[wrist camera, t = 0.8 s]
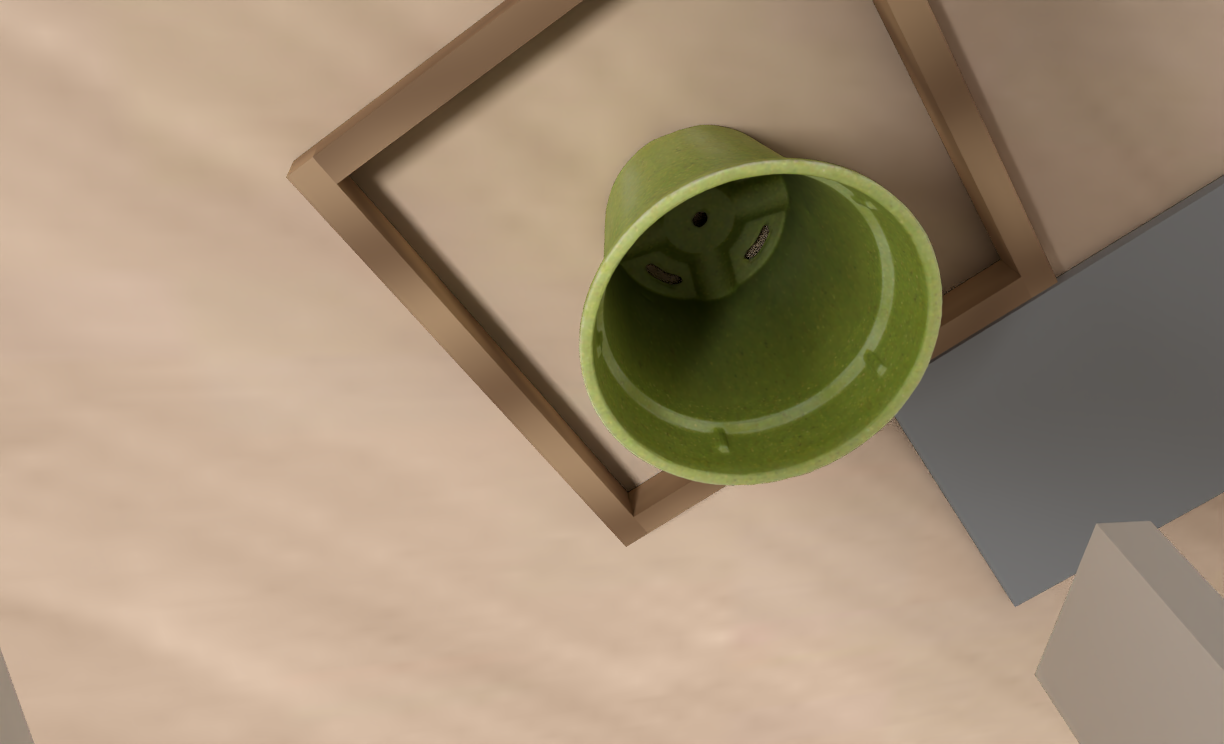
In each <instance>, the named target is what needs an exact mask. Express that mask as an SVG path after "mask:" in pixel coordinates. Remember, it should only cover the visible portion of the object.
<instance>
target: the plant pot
mask: <svg viewBox="0 0 1224 744" xmlns="http://www.w3.org/2000/svg"><path fill="white" fill-rule="evenodd" d="M698 212H705V213H706V215H707V221H706V223H705V224H704V225H703V226H701V227H697V226H695V225H694V224H693V222H692V219H693V218H694V216H695V214H696V213H698ZM764 225H767V226H768V229H769V234H768V236H767V238H766V240H765V242H764V244H763V246H762V248H761V249H760V250H759V252H758V253H757V254H756V255H755V256H754V257H752V258H750V259H745V258H744V256H745V254H746V252H747V251H748V249H749V248H750V247H751V246H752V245H753V244H754V243H755V242H756V240H757V237H758V236H759V235H760V232H761V229H762V228H763V226H764ZM648 264H653V265H655V266H657V267H659V268H660V269H661V270H663V271H665V272H667V273H670V274H673V275H678V276H680V277H681V278H682V282H681V283H678V284H668V283H664V282H662V281H661V280H659V279H656V278H654V277H653V276H652V275H650V274H649V273H648V271H647V269H646V266H647V265H648ZM941 317H942V284H941V279H940V272H939V267H938V263H937V260H936V256H935V252H934V250H933V247H932V245H931V242H930V240H929V238H928V236H927V234H926V232H925V231H924V229H923V228H922V226H921V225H920V223H919V222H918V220H917V219H916V218H915V216H914V215H913V214H912V213H911V211H910V210H909V209H908V208H907V207H906V206H905V205H904V204H903V203H902V202H901V201H899V200H898V199H897V198H896V197H895V196H894V195H893V194H891V193H890V192H889V191H888V190H886V189H885V188H884V187H882V186H881V185H879V184H878V183H876V182H874V181H873V180H871V179H870V178H868V177H866V176H864V175H862V174H860V173H858V172H856V171H853V170H851V169H848V168H845V167H842V166H839V165H835V164H832V163H828V162H823V161H818V160H811V159H802V158H785V157H783V156H781V155H780V154H778V153H776V152H774V151H773V150H771V149H769V148H768V147H766V146H764V145H763V144H761V143H759V142H758V141H756V140H754V139H753V138H751V137H750V136H748V135H746V134H744V133H742V132H739V131H737V130H733V129H730V128H726V127H721V126H715V125H698V126H694V127H690V128H686V129H682V130H678V131H676V132H673V133H671V134H668V135H665V136H662V137H660V138H658V139H655V140H653V141H651V142H649V143H648V144H647V145H645V146H644V147H643V148H641V149H640V150H639V151H638V152H637V153H636V154H635V155H634V156H633V157H632V158H631V159H630V160H629V161H628V162H627V163H626V165H625V166H624V167H623V169H622V170H621V172H620V173H619V175H618V177H617V179H616V181H615V183H614V185H613V187H612V190H611V193H610V196H609V199H608V204H607V208H606V217H605V243H604V260H603V261H602V263H601V265H600V267H599V269H598V271H597V273H596V275H595V277H594V279H593V281H592V283H591V286H590V289H589V291H588V294H587V297H586V300H585V304H584V308H583V313H582V318H581V323H580V336H579V354H580V363H581V370H582V375H583V379H584V383H585V387H586V390H587V393H588V395H589V398H590V401H591V403H592V406H593V407H594V409H595V411H596V413H597V415H598V416H599V418H600V419H601V421H602V422H603V424H604V425H605V427H606V428H607V429H608V431H609V432H610V433H611V434H612V435H613V436H614V437H615V438H616V439H617V440H618V441H619V442H620V443H621V444H622V445H623V446H624V447H625V448H626V449H627V450H629V451H630V452H631V453H632V454H634V455H635V456H637V457H638V458H640V459H641V460H643V461H645V462H646V463H648V464H650V465H652V466H654V467H655V468H658V469H661V470H663V471H665V472H667V473H670V474H673V475H676V476H678V477H682V478H685V479H689V480H692V481H696V482H702V483H708V484H715V485H732V486H734V485H755V484H763V483H770V482H775V481H780V480H784V479H787V478H791V477H796V476H800V475H803V474H807V473H810V472H812V471H814V470H816V469H819V468H821V467H823V466H826V465H828V464H830V463H832V462H834V461H836V460H838V459H840V458H842V457H843V456H845V455H846V454H848V453H850V452H851V451H853V450H854V449H856V448H857V447H859V446H860V445H862V444H863V443H864V442H866V441H867V440H868V439H869V438H871V437H872V436H873V435H874V434H876V433H877V432H878V431H879V430H881V429H882V428H883V427H884V426H885V425H886V424H887V423H888V422H889V421H890V420H891V419H892V418H893V417H894V416H895V415H896V414H897V413H898V411H899V410H900V409H901V408H902V406H903V405H904V404H905V402H906V401H907V400H908V399H909V397H910V396H911V394H912V393H913V391H914V390H915V388H916V387H917V386H918V384H919V382H920V381H921V379H922V377H923V375H924V373H925V371H926V369H927V367H928V364H929V362H930V359H931V356H932V354H933V351H934V347H935V344H936V341H937V337H938V333H939V328H940V325H941Z"/></svg>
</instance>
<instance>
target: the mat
mask: <svg viewBox="0 0 1224 744" xmlns="http://www.w3.org/2000/svg"><path fill="white" fill-rule="evenodd" d="M1056 279H1057V281H1058V282H1057V283H1056V284H1054V285H1052V286H1051V287H1049V288H1047V289H1046V290H1044V291H1043V292H1041V293H1039V294H1038V295H1036V296H1034V297H1033V298H1031V299H1029V300H1028V301H1026V302H1025V303H1023V304H1021V305H1020V306H1018V307H1016V308H1015V309H1013V310H1012V311H1010V312H1008V313H1007V314H1005V315H1003V316H1002V317H1000V318H998V319H997V320H995V321H994V322H992V323H990V324H989V325H987V326H985V327H984V328H982V329H981V330H979V331H977V332H976V333H974V334H972V335H971V336H969V337H967V338H966V339H964V340H963V341H961V342H959V343H958V344H956V345H954V346H953V347H951V348H950V349H948V350H946V351H945V352H943V353H941V354H940V355H938V356H937V357H935V358H933V359H932V360H930V362H929V364H928V367H927V369H926V371H925V373H924V375H923V377H922V379H921V381H920V382H919V384H918V386H917V387H916V388H915V390H914V391H913V393H912V394H911V396H910V397H909V399H908V400H907V401H906V402H905V404H904V405H903V406H902V408H901V409H900V410H899V411H898V413H897V414H896V415H895V418H896V419H897V421H898V423H899V424H900V426H901V427H902V429H903V431H904V432H905V434H906V435H907V437H908V438H909V440H910V442H911V443H912V445H913V446H914V448H915V450H916V451H917V453H918V454H919V456H920V457H921V459H922V461H923V462H924V464H925V465H926V467H927V469H928V470H929V472H930V473H931V475H932V476H933V478H934V480H935V481H936V483H937V484H938V486H939V488H940V489H941V491H942V492H943V494H944V495H945V497H946V499H947V500H948V502H949V503H950V505H951V507H952V508H953V510H954V511H955V513H956V514H957V516H958V518H959V519H960V521H961V522H962V524H963V526H964V527H965V529H966V530H967V532H968V533H969V535H970V537H971V538H972V540H973V541H974V543H975V545H976V546H977V548H978V549H979V551H980V552H981V554H982V556H983V557H984V559H985V560H986V562H987V564H988V565H989V567H990V568H991V570H992V571H993V573H994V575H995V576H996V578H997V579H998V581H999V583H1000V584H1001V586H1002V587H1003V589H1004V590H1005V592H1006V594H1007V595H1008V597H1009V598H1010V600H1011V601H1012V603H1013V604H1014V606H1015V607H1016V606H1018V605H1020V604H1022V603H1023V602H1025V601H1027V600H1029V599H1031V598H1032V597H1034V596H1036V595H1038V594H1040V593H1042V592H1043V591H1045V590H1047V589H1049V588H1051V587H1052V586H1054V585H1056V584H1058V583H1060V582H1062V581H1063V580H1065V579H1067V578H1069V577H1071V576H1072V575H1074V574H1076V572H1077V569H1078V567H1079V565H1080V562H1081V560H1082V557H1083V555H1084V552H1085V550H1086V547H1087V545H1088V543H1089V540H1090V538H1091V535H1092V533H1093V530H1094V528H1095V525H1096V523H1116V522H1138V521H1151V522H1152V523H1153V524H1154V525H1155V526H1156V527H1157V528H1160V527H1161V526H1163V525H1165V524H1167V523H1169V522H1171V521H1172V520H1174V519H1176V518H1178V517H1180V516H1181V515H1183V514H1185V513H1187V512H1189V511H1191V510H1192V509H1194V508H1196V507H1198V506H1200V505H1201V504H1203V503H1205V502H1207V501H1209V500H1210V499H1212V498H1214V497H1216V496H1218V495H1220V494H1221V493H1223V492H1224V175H1223V176H1222V177H1220V178H1218V179H1217V180H1215V181H1214V182H1212V183H1210V184H1209V185H1207V186H1205V187H1204V188H1202V189H1201V190H1199V191H1197V192H1196V193H1194V194H1192V195H1191V196H1189V197H1188V198H1186V199H1184V200H1183V201H1181V202H1179V203H1178V204H1176V205H1175V206H1173V207H1171V208H1170V209H1168V210H1166V211H1165V212H1163V213H1161V214H1160V215H1158V216H1157V217H1155V218H1153V219H1152V220H1150V221H1148V222H1147V223H1145V224H1144V225H1142V226H1140V227H1139V228H1137V229H1135V230H1134V231H1132V232H1131V233H1129V234H1127V235H1126V236H1124V237H1122V238H1121V239H1119V240H1118V241H1116V242H1114V243H1113V244H1111V245H1109V246H1108V247H1106V248H1105V249H1103V250H1101V251H1100V252H1098V253H1096V254H1095V255H1093V256H1091V257H1090V258H1088V259H1087V260H1085V261H1083V262H1082V263H1080V264H1078V265H1077V266H1075V267H1074V268H1072V269H1070V270H1069V271H1067V272H1065V273H1064V274H1062V275H1061V276H1059V277H1057V278H1056Z"/></svg>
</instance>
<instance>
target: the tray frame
mask: <svg viewBox="0 0 1224 744" xmlns="http://www.w3.org/2000/svg"><path fill="white" fill-rule="evenodd" d="M582 1H583V0H505V1H504V2H503V3H501V4H500V5H499V6H497V7H496V8H495V9H493V10H492V11H491V12H490V13H488V14H487V15H486V16H484V17H483V18H482V19H480V20H479V21H478V22H476V23H475V24H474V25H472V26H471V27H470V28H468V29H467V30H466V31H464V32H463V33H462V34H461V35H459V36H458V37H457V38H455V39H454V40H453V41H451V42H450V43H449V44H447V45H446V46H445V47H443V48H442V49H441V50H439V51H438V52H437V53H435V54H434V55H433V56H432V57H430V58H429V59H428V60H426V61H425V62H424V63H422V64H421V65H420V66H418V67H417V68H416V69H414V70H413V71H412V72H410V73H409V74H408V75H406V76H405V77H404V78H403V79H401V80H400V81H399V82H397V83H396V84H395V85H393V86H392V87H391V88H389V89H388V90H387V91H385V92H384V93H383V94H381V95H380V96H379V97H377V98H376V99H375V100H374V101H372V102H371V103H370V104H368V105H367V106H366V107H364V108H363V109H362V110H360V111H359V112H358V113H356V114H355V115H354V116H352V117H351V118H350V119H348V120H347V121H346V122H345V123H343V124H342V125H341V126H339V127H338V128H337V129H335V130H334V131H333V132H331V133H330V134H329V135H327V136H326V137H325V138H323V139H322V140H321V141H320V142H318V143H317V144H316V145H314V146H313V147H312V148H310V149H309V150H308V151H306V152H305V153H304V154H302V155H301V156H300V157H298V158H297V159H296V160H294V162H293V164H292V166H291V168H290V170H289V172H288V175H287V177H286V178H287V179H288V180H289V181H290V182H291V183H292V184H293V185H294V186H295V187H296V188H297V190H298V191H299V192H300V193H301V194H302V195H303V196H304V197H305V198H306V199H307V200H308V201H309V203H310V204H311V205H312V206H313V207H314V208H315V209H316V210H317V211H318V212H319V213H320V215H321V216H322V217H323V218H324V219H325V220H326V221H327V222H328V223H329V224H330V225H331V226H332V228H333V229H334V230H335V231H336V232H337V233H338V234H339V235H340V236H341V237H342V238H343V240H344V241H345V242H346V243H347V244H348V245H349V246H350V247H351V248H352V249H353V250H354V251H355V253H356V254H357V255H358V256H359V257H360V258H361V259H362V260H363V261H364V262H365V263H366V265H367V266H368V267H369V268H370V269H371V270H372V271H373V272H374V273H375V274H376V275H377V277H378V278H379V279H380V280H381V281H382V282H383V283H384V284H385V285H386V286H387V287H388V288H389V290H390V291H391V292H392V293H393V294H394V295H395V296H396V297H397V298H398V299H399V300H400V302H401V303H402V304H403V305H404V306H405V307H406V308H407V309H408V310H409V311H410V312H411V313H412V315H413V316H414V317H415V318H416V319H417V320H418V321H419V322H420V323H421V324H422V325H423V327H424V328H425V329H426V330H427V331H428V332H429V333H430V334H431V335H432V336H433V337H434V338H435V340H436V341H437V342H438V343H439V344H440V345H441V346H442V347H443V348H444V349H445V350H446V352H447V353H448V354H449V355H450V356H451V357H452V358H453V359H454V360H455V361H456V362H457V364H458V365H459V366H460V367H461V368H462V369H463V370H464V371H465V372H466V373H467V374H468V375H469V377H470V378H471V379H472V380H473V381H474V382H475V383H476V384H477V385H478V386H479V387H480V389H481V390H482V391H483V392H484V393H485V394H486V395H487V396H488V397H489V398H490V399H491V400H492V402H493V403H494V404H495V405H496V406H497V407H498V408H499V409H500V410H501V411H502V412H503V414H504V415H505V416H506V417H507V418H508V419H509V420H510V421H511V422H512V423H513V424H514V425H515V427H516V428H517V429H518V430H519V431H520V432H521V433H522V434H523V435H524V436H525V437H526V439H527V440H528V441H529V442H530V443H531V444H532V445H533V446H534V447H535V448H536V449H537V450H538V452H539V453H540V454H541V455H542V456H543V457H544V458H545V459H546V460H547V461H548V462H549V464H550V465H551V466H552V467H553V468H554V469H555V470H556V471H557V472H558V473H559V474H560V476H561V477H562V478H563V479H564V480H565V481H566V482H567V483H568V484H569V485H570V486H571V487H572V489H573V490H574V491H575V492H576V493H577V494H578V495H579V496H580V497H581V498H582V499H583V501H584V502H585V503H586V504H587V505H588V506H589V507H590V508H591V509H592V510H593V511H594V512H595V514H596V515H597V516H598V517H599V518H600V519H601V520H602V521H603V522H604V523H605V524H606V526H607V527H608V528H609V529H610V530H611V531H612V532H613V533H614V534H615V535H616V536H617V537H618V539H619V540H620V541H621V542H622V543H623V544H624V545H625V546H626V547H627V546H628V545H630V544H632V543H633V542H635V541H636V540H638V539H640V538H641V537H643V536H645V535H646V534H648V533H649V532H651V531H653V530H654V529H656V528H658V527H659V526H661V525H663V524H664V523H666V522H667V521H669V520H671V519H672V518H674V517H676V516H677V515H679V514H680V513H682V512H684V511H685V510H687V509H689V508H690V507H692V506H694V505H695V504H697V503H698V502H700V501H702V500H703V499H705V498H707V497H708V496H710V495H711V494H713V493H715V492H716V491H718V490H720V489H721V488H723V487H725V486H726V485H715V484H708V483H702V482H696V481H692V480H689V479H685V478H682V477H678V476H676V475H673V474H670V473H667V472H665V471H662V472H660V473H659V474H657V475H655V476H654V477H652V478H651V479H649V480H647V481H646V482H644V483H643V484H641V485H639V486H638V487H636V488H635V489H633V490H631V491H630V492H628V493H627V491H626V490H625V489H624V488H623V487H622V486H621V485H620V484H619V482H618V481H617V480H616V479H615V478H614V477H613V476H612V474H611V473H610V472H609V471H608V470H607V469H606V468H605V466H604V465H603V464H602V463H601V462H600V461H599V460H598V458H597V457H596V456H595V455H594V454H593V453H592V452H591V451H590V449H589V448H588V447H587V446H586V445H585V444H584V443H583V441H582V440H581V439H580V438H579V437H578V436H577V435H576V433H575V432H574V431H573V430H572V429H571V428H570V427H569V426H568V424H567V423H566V422H565V421H564V420H563V419H562V418H561V416H560V415H559V414H558V413H557V412H556V411H555V410H554V408H553V407H552V406H551V405H550V404H549V403H548V402H547V400H546V399H545V398H544V397H543V396H542V395H541V394H540V393H539V391H538V390H537V389H536V388H535V387H534V386H533V385H532V383H531V382H530V381H529V380H528V379H527V378H526V377H525V375H524V374H523V373H522V372H521V371H520V370H519V369H518V368H517V366H516V365H515V364H514V363H513V362H512V361H511V360H510V358H509V357H508V356H507V355H506V354H505V353H504V352H503V350H502V349H501V348H500V347H499V346H498V345H497V344H496V342H495V341H494V340H493V339H492V338H491V337H490V336H489V335H488V333H487V332H486V331H485V330H484V329H483V328H482V327H481V325H480V324H479V323H478V322H477V321H476V320H475V319H474V317H473V316H472V315H471V314H470V313H469V312H468V311H467V310H466V308H465V307H464V306H463V305H462V304H461V303H460V302H459V300H458V299H457V298H456V297H455V296H454V295H453V294H452V292H451V291H450V290H449V289H448V288H447V287H446V286H445V284H444V283H443V282H442V281H441V280H440V279H439V278H438V277H437V275H436V274H435V273H434V272H433V271H432V270H431V269H430V267H429V266H428V265H427V264H426V263H425V262H424V261H423V259H422V258H421V257H420V256H419V255H418V254H417V253H416V251H415V250H414V249H413V248H412V247H411V246H410V245H409V244H408V242H407V241H406V240H405V239H404V238H403V237H402V236H401V234H400V233H399V232H398V231H397V230H396V229H395V228H394V226H393V225H392V224H391V223H390V222H389V221H388V220H387V219H386V217H385V216H384V215H383V214H382V213H381V212H380V211H379V209H378V208H377V207H376V206H375V205H374V204H373V203H372V201H371V200H370V199H369V198H368V197H367V196H366V195H365V193H364V192H363V191H362V190H361V189H360V188H359V187H358V186H357V184H356V183H355V182H354V181H353V180H352V179H351V178H350V176H349V174H351V173H352V172H354V171H355V170H356V169H358V168H359V167H360V166H362V165H363V164H364V163H366V162H367V161H368V160H370V159H371V158H372V157H374V156H375V155H376V154H378V153H379V152H380V151H382V150H383V149H384V148H386V147H387V146H388V145H390V144H391V143H392V142H394V141H395V140H396V139H398V138H399V137H400V136H402V135H403V134H405V133H406V132H407V131H409V130H410V129H411V128H413V127H414V126H415V125H417V124H418V123H419V122H421V121H422V120H423V119H425V118H426V117H427V116H429V115H430V114H431V113H433V112H434V111H435V110H437V109H438V108H439V107H441V106H442V105H443V104H445V103H446V102H447V101H449V100H450V99H451V98H453V97H454V96H455V95H457V94H458V93H460V92H461V91H462V90H464V89H465V88H466V87H468V86H469V85H470V84H472V83H473V82H474V81H476V80H477V79H478V78H480V77H481V76H482V75H484V74H485V73H486V72H488V71H489V70H490V69H492V68H493V67H494V66H496V65H497V64H498V63H500V62H501V61H502V60H504V59H505V58H506V57H508V56H509V55H511V54H512V53H513V52H515V51H516V50H517V49H519V48H520V47H521V46H523V45H524V44H525V43H527V42H528V41H529V40H531V39H532V38H533V37H535V36H536V35H537V34H539V33H540V32H541V31H543V30H544V29H545V28H547V27H548V26H549V25H551V24H552V23H553V22H555V21H556V20H557V19H559V18H560V17H562V16H563V15H564V14H566V13H567V12H568V11H570V10H571V9H572V8H574V7H575V6H576V5H578V4H579V3H580V2H582ZM873 2H874V5H875V7H876V9H877V11H878V13H879V15H880V17H881V19H882V21H883V23H884V25H885V27H886V29H887V31H888V33H889V35H890V37H891V39H892V41H893V43H894V45H895V47H896V49H897V51H898V53H899V55H900V57H901V59H902V61H903V63H904V65H905V67H906V69H907V71H908V73H909V75H910V77H911V79H912V81H913V83H914V85H915V87H916V89H917V91H918V93H919V95H920V97H921V99H922V101H923V103H924V106H925V108H926V110H927V112H928V114H929V116H930V118H931V120H932V122H933V124H934V126H935V128H936V130H937V132H938V134H939V136H940V138H941V140H942V142H943V144H944V146H945V148H946V150H947V152H948V154H949V156H950V158H951V160H952V162H953V164H954V166H955V168H956V170H957V172H958V174H959V176H960V178H961V180H962V182H963V184H964V186H965V188H966V190H967V192H968V194H969V196H970V198H971V200H972V202H973V204H974V207H975V209H976V211H977V213H978V215H979V217H980V219H981V221H982V223H983V225H984V227H985V229H986V231H987V233H988V235H989V237H990V239H991V241H992V243H993V245H994V247H995V249H996V251H997V253H998V255H999V257H1000V259H1001V260H999V261H998V262H996V263H994V264H993V265H991V266H990V267H988V268H986V269H985V270H983V271H982V272H980V273H978V274H977V275H975V276H974V277H972V278H970V279H969V280H967V281H966V282H964V283H962V284H961V285H959V286H958V287H956V288H954V289H953V290H951V291H950V292H948V293H946V294H945V295H943V296H942V317H941V325H940V328H939V333H938V337H937V341H936V344H935V347H934V351H933V354H932V356H931V359H930V360H932V359H933V358H935V357H937V356H938V355H940V354H941V353H943V352H945V351H946V350H948V349H950V348H951V347H953V346H954V345H956V344H958V343H959V342H961V341H963V340H964V339H966V338H967V337H969V336H971V335H972V334H974V333H976V332H977V331H979V330H981V329H982V328H984V327H985V326H987V325H989V324H990V323H992V322H994V321H995V320H997V319H998V318H1000V317H1002V316H1003V315H1005V314H1007V313H1008V312H1010V311H1012V310H1013V309H1015V308H1016V307H1018V306H1020V305H1021V304H1023V303H1025V302H1026V301H1028V300H1029V299H1031V298H1033V297H1034V296H1036V295H1038V294H1039V293H1041V292H1043V291H1044V290H1046V289H1047V288H1049V287H1051V286H1052V285H1054V284H1056V283H1057V282H1058V281H1057V279H1056V277H1055V275H1054V272H1053V270H1052V268H1051V266H1050V264H1049V262H1048V260H1047V257H1046V255H1045V253H1044V251H1043V249H1042V247H1041V244H1040V242H1039V240H1038V238H1037V236H1036V234H1035V231H1034V229H1033V227H1032V225H1031V223H1030V221H1029V219H1028V216H1027V214H1026V212H1025V210H1024V208H1023V206H1022V203H1021V201H1020V199H1019V197H1018V195H1017V193H1016V191H1015V188H1014V186H1013V184H1012V182H1011V180H1010V178H1009V175H1008V173H1007V171H1006V169H1005V167H1004V165H1003V163H1002V160H1001V158H1000V156H999V154H998V152H997V150H996V147H995V145H994V143H993V141H992V139H991V137H990V134H989V132H988V130H987V128H986V126H985V124H984V122H983V119H982V117H981V115H980V113H979V111H978V109H977V106H976V104H975V102H974V100H973V98H972V96H971V94H970V91H969V89H968V87H967V85H966V83H965V81H964V78H963V76H962V74H961V72H960V70H959V68H958V66H957V63H956V61H955V59H954V57H953V55H952V53H951V50H950V48H949V46H948V44H947V42H946V40H945V38H944V35H943V33H942V31H941V29H940V27H939V25H938V22H937V20H936V18H935V16H934V14H933V12H932V9H931V7H930V5H929V3H928V1H927V0H873Z"/></svg>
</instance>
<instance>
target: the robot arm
mask: <svg viewBox="0 0 1224 744" xmlns="http://www.w3.org/2000/svg"><path fill="white" fill-rule="evenodd" d="M1035 676H1036V678H1037V679H1038V681H1039V682H1040V684H1041V685H1042V687H1043V688H1044V690H1045V691H1046V693H1047V694H1048V696H1049V698H1050V699H1051V701H1052V702H1053V704H1054V705H1055V707H1056V708H1057V710H1058V711H1059V713H1060V714H1061V716H1062V717H1063V719H1064V721H1065V722H1066V724H1067V725H1068V727H1069V728H1070V730H1071V731H1072V733H1073V734H1074V736H1075V737H1076V739H1077V740H1078V742H1079V744H1224V599H1223V597H1222V596H1221V595H1220V594H1219V593H1218V592H1217V591H1216V590H1215V589H1214V588H1213V587H1212V586H1211V585H1210V584H1209V583H1208V581H1207V580H1206V579H1205V578H1204V577H1203V576H1202V575H1201V574H1200V573H1199V572H1198V571H1197V570H1196V569H1195V568H1194V567H1193V566H1192V564H1191V563H1190V562H1189V561H1188V560H1187V559H1186V558H1185V557H1184V556H1183V555H1182V554H1181V553H1180V552H1179V551H1178V550H1177V549H1176V547H1175V546H1174V545H1173V544H1172V543H1171V542H1170V541H1169V540H1168V539H1167V538H1166V537H1165V536H1164V535H1163V534H1162V533H1161V532H1160V530H1159V529H1158V528H1157V527H1156V526H1155V525H1154V524H1153V523H1152V522H1151V521H1138V522H1116V523H1096V525H1095V528H1094V530H1093V533H1092V535H1091V538H1090V540H1089V543H1088V545H1087V547H1086V550H1085V552H1084V555H1083V557H1082V560H1081V562H1080V565H1079V567H1078V569H1077V572H1076V574H1075V577H1074V579H1073V582H1072V584H1071V587H1070V589H1069V592H1068V594H1067V596H1066V599H1065V601H1064V604H1063V606H1062V609H1061V611H1060V614H1059V616H1058V618H1057V621H1056V623H1055V626H1054V628H1053V631H1052V633H1051V636H1050V638H1049V640H1048V643H1047V645H1046V648H1045V650H1044V653H1043V655H1042V658H1041V660H1040V663H1039V665H1038V667H1037V670H1036V672H1035ZM0 744H34V742H33V739H32V736H31V733H30V730H29V728H28V725H27V722H26V719H25V716H24V714H23V711H22V708H21V705H20V702H19V700H18V697H17V694H16V691H15V688H14V685H13V683H12V680H11V677H10V674H9V671H8V669H7V666H6V663H5V660H4V657H3V655H2V652H1V649H0Z"/></svg>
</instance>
